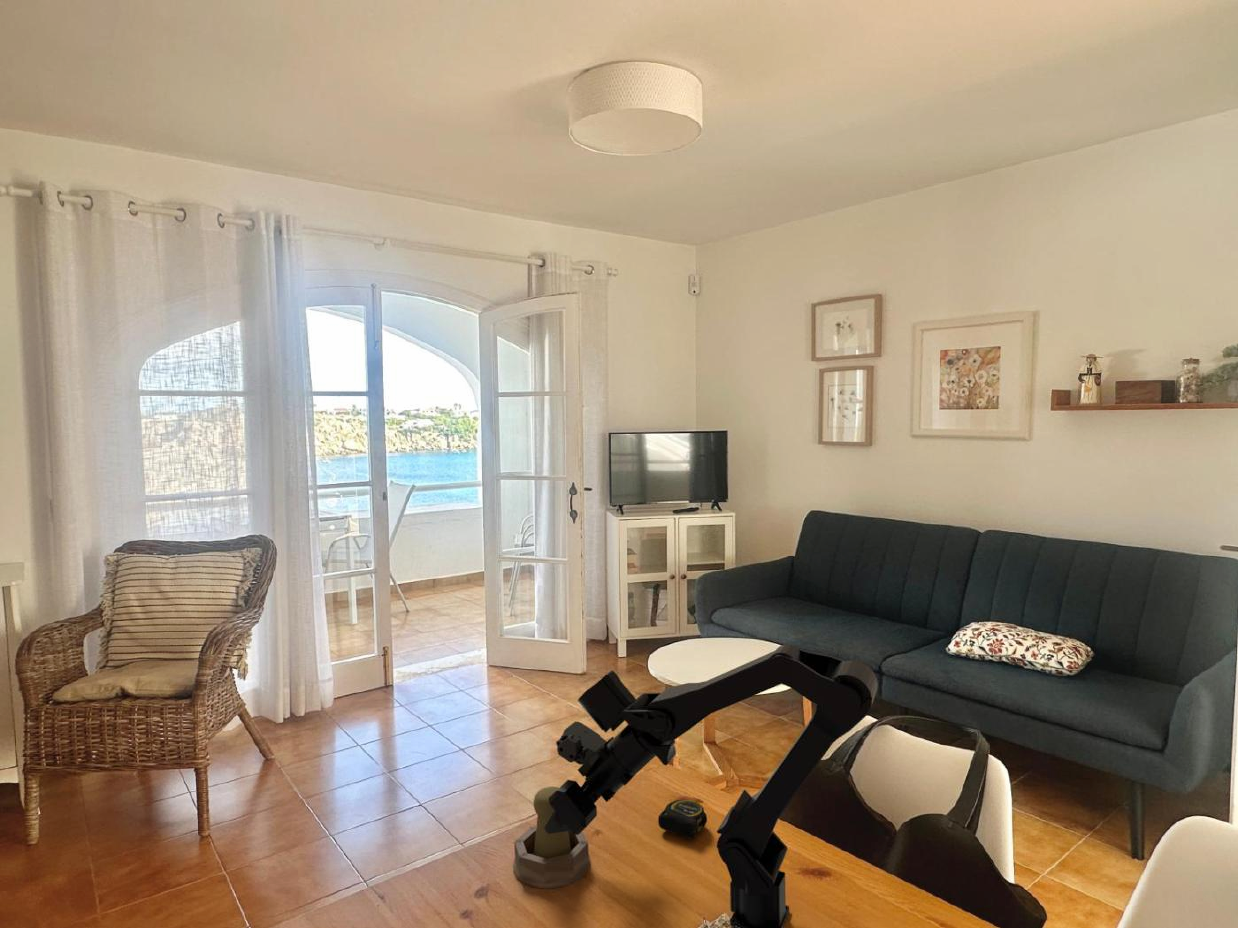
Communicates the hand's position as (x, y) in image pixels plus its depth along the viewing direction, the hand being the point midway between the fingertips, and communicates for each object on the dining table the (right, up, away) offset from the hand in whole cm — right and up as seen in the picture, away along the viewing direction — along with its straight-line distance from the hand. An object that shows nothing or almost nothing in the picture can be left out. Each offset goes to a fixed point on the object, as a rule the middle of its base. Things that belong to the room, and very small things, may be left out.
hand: (562, 814), depth 114 cm
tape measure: (+19, -8, +10) cm, 23 cm away
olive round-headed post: (-1, -8, +1) cm, 8 cm away
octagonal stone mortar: (-2, -8, +1) cm, 8 cm away
